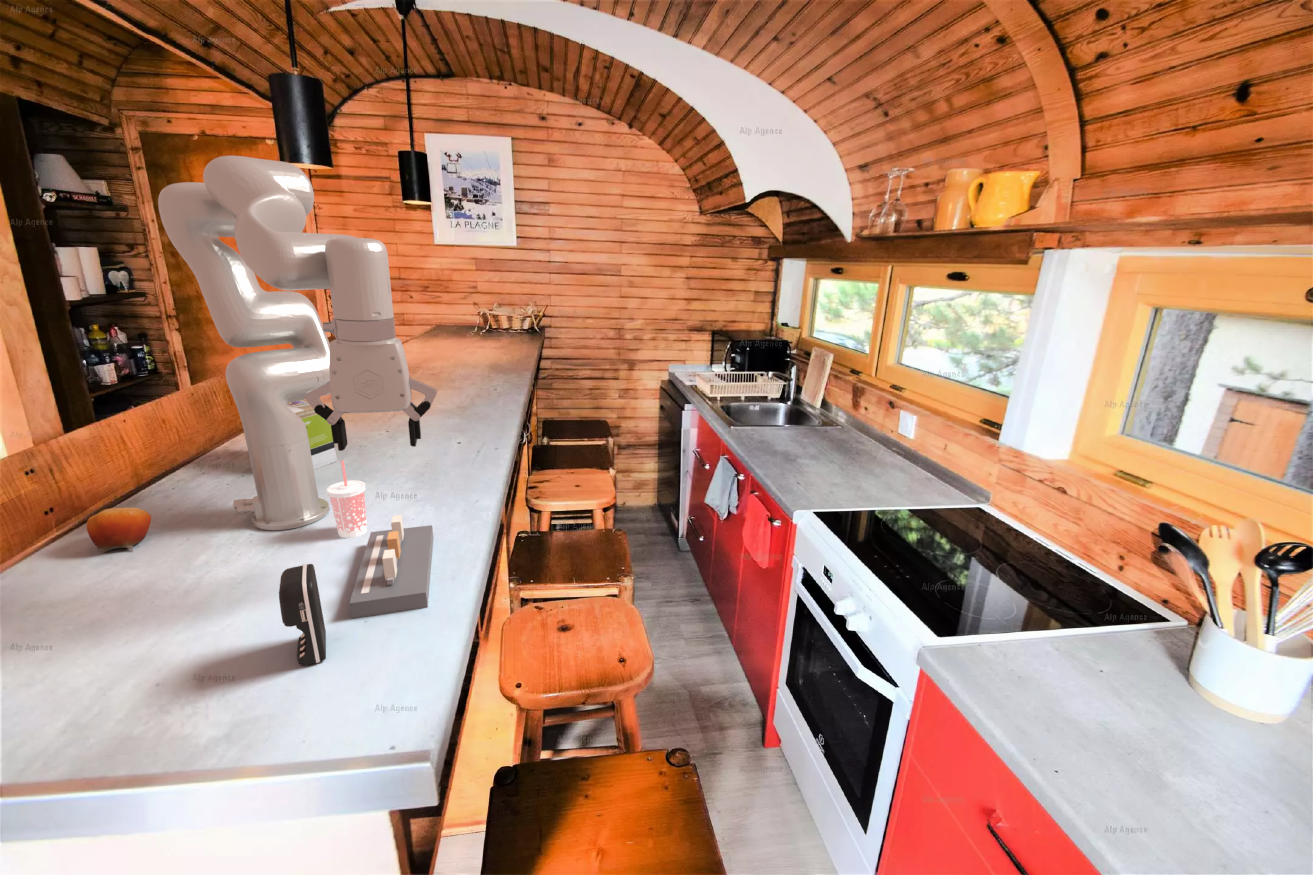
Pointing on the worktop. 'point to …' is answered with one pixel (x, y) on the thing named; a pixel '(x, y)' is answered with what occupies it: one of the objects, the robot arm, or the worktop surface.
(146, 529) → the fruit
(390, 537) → the switch paddles
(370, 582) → the switch panel
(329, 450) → the tea box
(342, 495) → the beverage cup
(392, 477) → the worktop surface
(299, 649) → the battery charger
